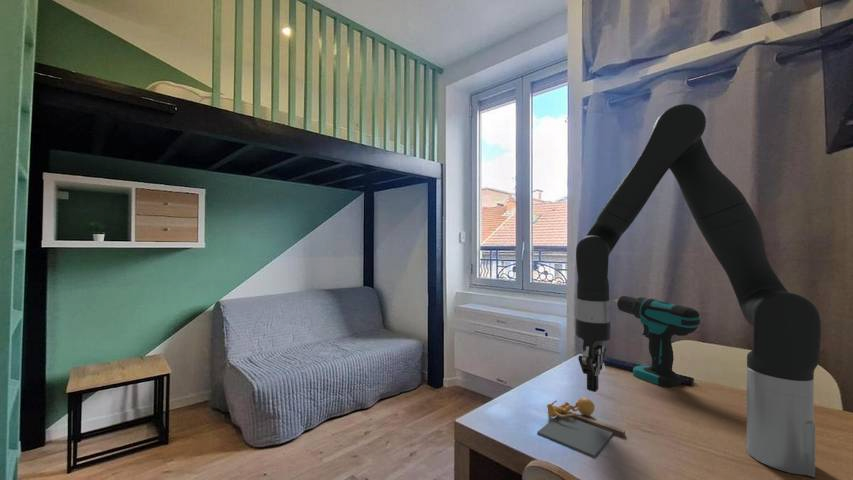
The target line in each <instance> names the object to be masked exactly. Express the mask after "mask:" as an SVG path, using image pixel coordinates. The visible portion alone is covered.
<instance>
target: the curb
mask: <svg viewBox="0 0 853 480" xmlns="http://www.w3.org/2000/svg"><path fill="white" fill-rule="evenodd" d="M572 412H573V411H571V410H569V412H567V413H564V412H563V413H561V414H563V415H567V414H572ZM573 413H574V414H575V416H569V417H571V418H574V419H577V420H580V421H582V422H585V423H588V424H591V425H594V426H596V427H599V428H602V429H605V430H608V431H611V432H613V435H616V436H619V437H622V438H624V437H625V436H626V430H624V429H622V428H619V427H617V426H613V425H610V424H608V423H606V422H601V421H599V420H596V419H593V418H590V417H587V416H586V415H583V414H579V413H576V412H573Z"/></svg>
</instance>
